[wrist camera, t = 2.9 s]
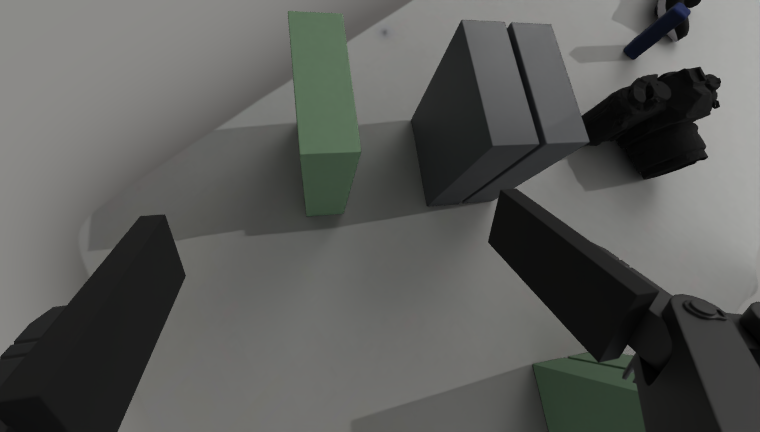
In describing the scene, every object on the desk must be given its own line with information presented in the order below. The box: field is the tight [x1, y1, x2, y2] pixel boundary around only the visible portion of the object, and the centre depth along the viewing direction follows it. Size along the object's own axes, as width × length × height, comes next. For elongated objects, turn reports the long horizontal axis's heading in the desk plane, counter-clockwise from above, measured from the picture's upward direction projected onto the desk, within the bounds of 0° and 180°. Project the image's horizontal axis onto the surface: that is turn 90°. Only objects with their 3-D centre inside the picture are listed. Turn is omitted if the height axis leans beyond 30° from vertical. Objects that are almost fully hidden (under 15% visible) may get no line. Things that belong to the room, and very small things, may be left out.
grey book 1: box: [411, 20, 539, 206], centre depth 28 cm, size 4×10×13 cm, turn 8°
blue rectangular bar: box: [624, 2, 690, 59], centre depth 42 cm, size 2×2×7 cm
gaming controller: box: [654, 0, 701, 42], centre depth 47 cm, size 11×4×7 cm
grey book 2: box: [463, 22, 589, 203], centre depth 29 cm, size 4×10×13 cm, turn 8°
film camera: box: [581, 67, 721, 180], centre depth 36 cm, size 15×10×9 cm, turn 105°
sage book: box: [288, 11, 361, 217], centre depth 26 cm, size 4×10×13 cm, turn 8°
